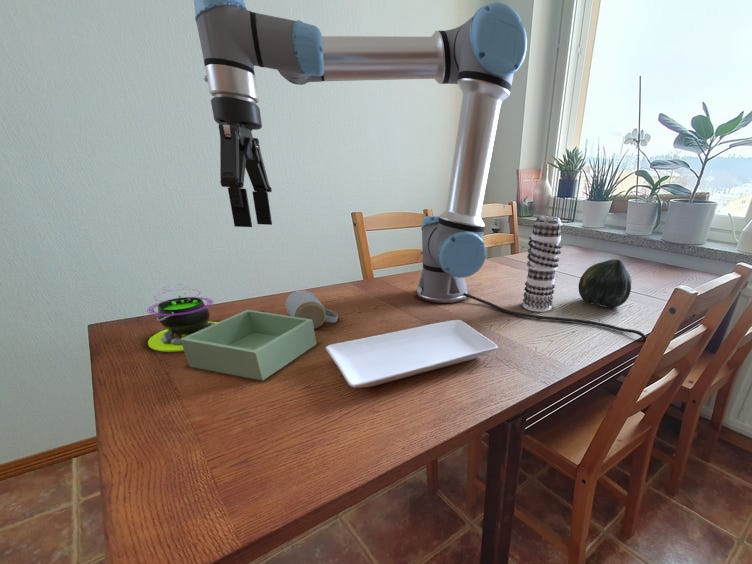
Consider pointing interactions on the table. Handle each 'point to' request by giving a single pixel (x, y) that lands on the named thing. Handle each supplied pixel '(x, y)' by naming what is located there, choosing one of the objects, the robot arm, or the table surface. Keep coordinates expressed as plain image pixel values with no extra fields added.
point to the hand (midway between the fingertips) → (255, 225)
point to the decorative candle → (542, 263)
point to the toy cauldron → (179, 321)
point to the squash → (606, 284)
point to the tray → (408, 352)
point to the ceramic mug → (309, 308)
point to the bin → (250, 344)
